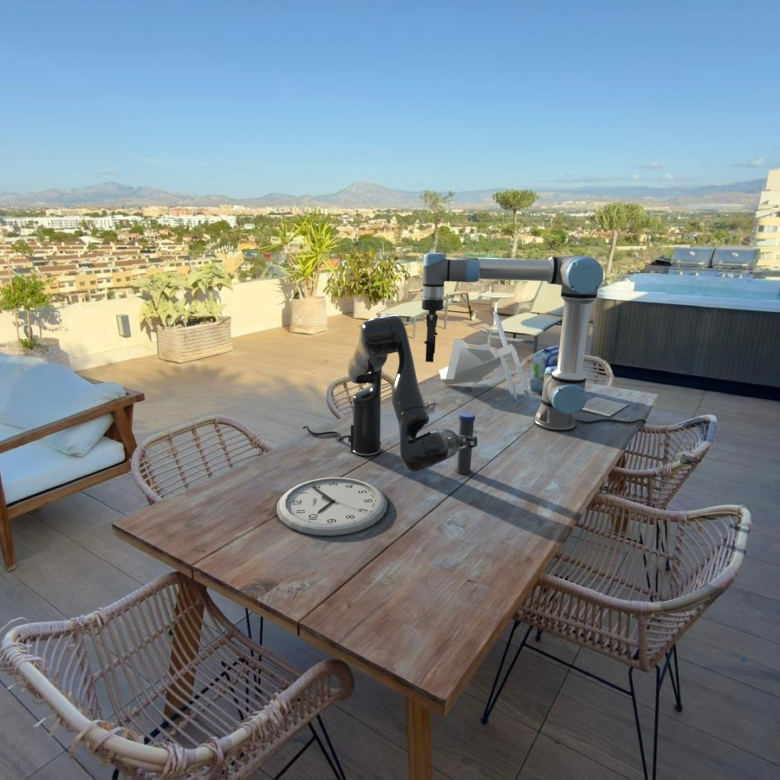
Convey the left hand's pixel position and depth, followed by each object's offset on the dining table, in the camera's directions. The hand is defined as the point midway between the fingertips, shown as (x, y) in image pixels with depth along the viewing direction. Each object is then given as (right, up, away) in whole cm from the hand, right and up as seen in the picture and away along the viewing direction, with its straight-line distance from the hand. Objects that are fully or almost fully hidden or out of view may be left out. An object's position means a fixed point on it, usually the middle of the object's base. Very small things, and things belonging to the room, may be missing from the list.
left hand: (454, 439), depth 145 cm
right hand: (-3, +26, +44) cm, 51 cm away
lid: (+5, +6, +13) cm, 15 cm away
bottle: (+5, -12, +19) cm, 23 cm away
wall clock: (-34, -18, -3) cm, 38 cm away
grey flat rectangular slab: (+74, +6, +81) cm, 109 cm away
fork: (-2, +7, +77) cm, 78 cm away
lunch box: (+58, +13, +102) cm, 118 cm away
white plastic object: (+24, +13, +98) cm, 101 cm away
